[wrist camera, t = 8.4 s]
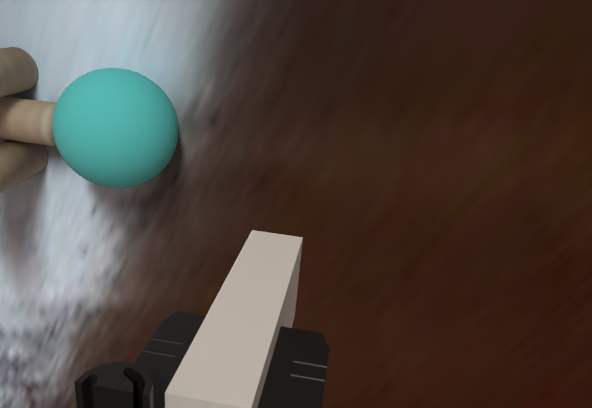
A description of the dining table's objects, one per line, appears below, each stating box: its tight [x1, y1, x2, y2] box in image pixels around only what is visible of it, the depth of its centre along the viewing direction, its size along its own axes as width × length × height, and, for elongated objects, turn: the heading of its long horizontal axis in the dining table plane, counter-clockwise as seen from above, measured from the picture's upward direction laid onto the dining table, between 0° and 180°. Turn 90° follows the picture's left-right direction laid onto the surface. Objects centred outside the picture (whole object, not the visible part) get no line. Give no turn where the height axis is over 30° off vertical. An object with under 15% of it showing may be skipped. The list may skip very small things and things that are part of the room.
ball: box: [53, 68, 179, 188], centre depth 25 cm, size 6×6×6 cm
